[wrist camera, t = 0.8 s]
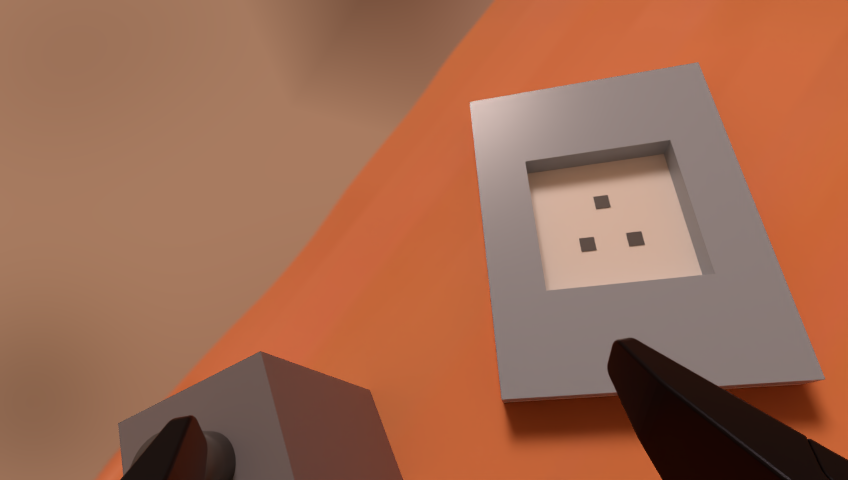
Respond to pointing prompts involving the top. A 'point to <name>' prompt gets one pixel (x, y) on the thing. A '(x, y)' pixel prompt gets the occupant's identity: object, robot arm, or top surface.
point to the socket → (627, 239)
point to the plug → (274, 425)
